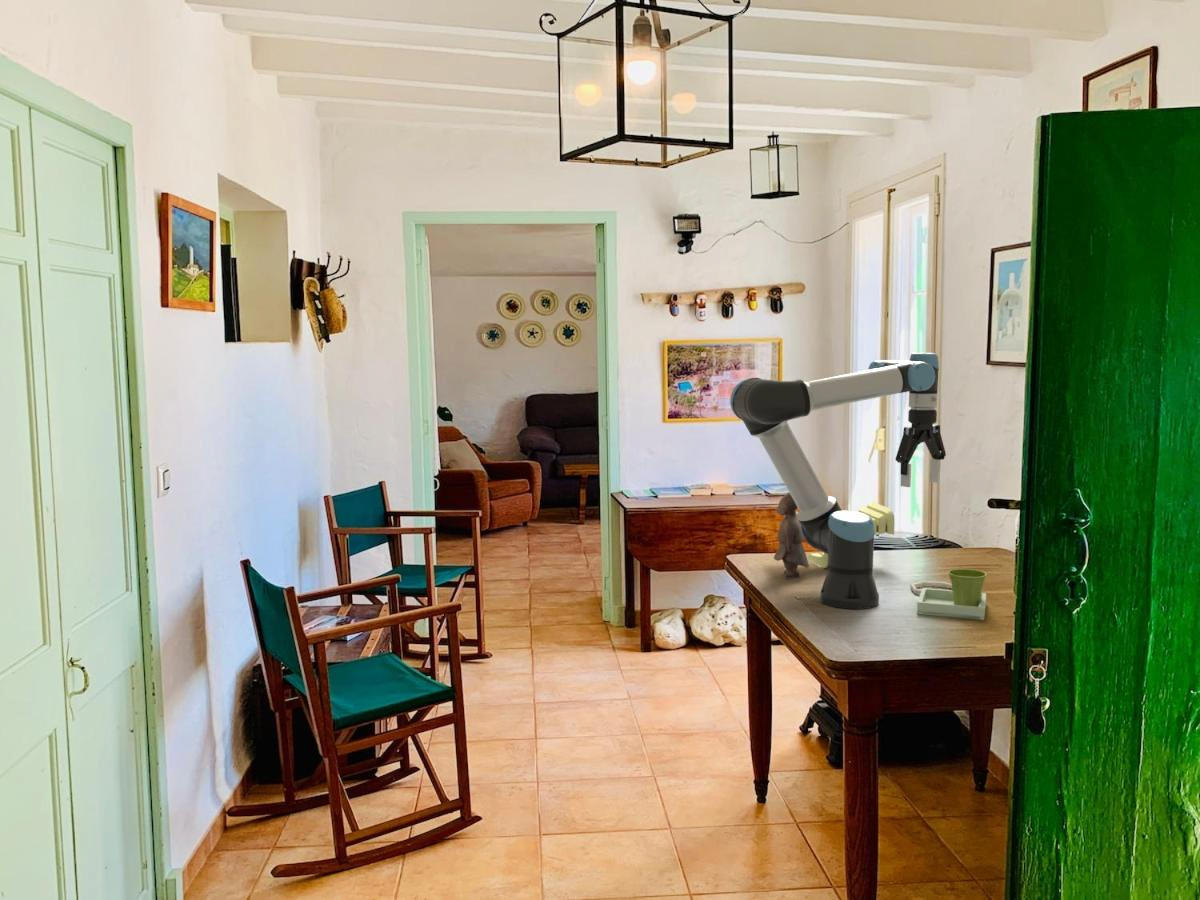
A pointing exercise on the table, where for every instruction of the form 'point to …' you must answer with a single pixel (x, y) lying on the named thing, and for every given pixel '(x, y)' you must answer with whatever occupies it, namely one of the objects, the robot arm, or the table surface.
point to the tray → (948, 605)
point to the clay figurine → (790, 538)
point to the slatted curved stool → (882, 524)
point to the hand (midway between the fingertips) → (920, 484)
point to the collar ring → (921, 584)
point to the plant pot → (967, 586)
